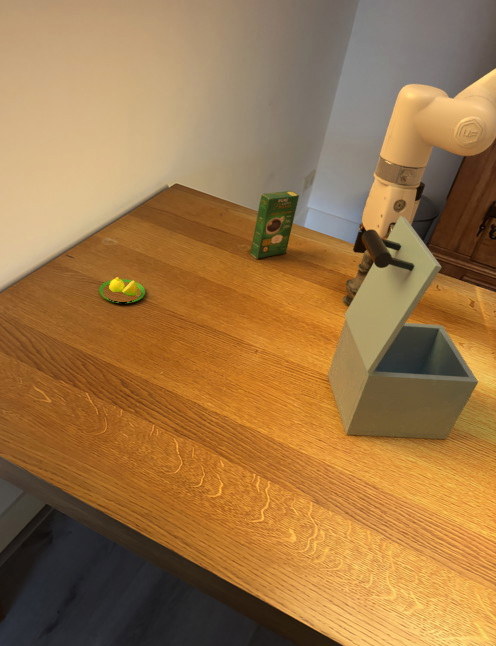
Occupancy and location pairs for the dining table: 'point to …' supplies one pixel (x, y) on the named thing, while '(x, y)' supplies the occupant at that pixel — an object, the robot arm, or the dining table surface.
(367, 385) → the grey hinged box
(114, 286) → the plate with lemons
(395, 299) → the lid
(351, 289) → the chess piece figurine
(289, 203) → the coffee box
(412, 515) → the dining table surface
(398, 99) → the robot arm
